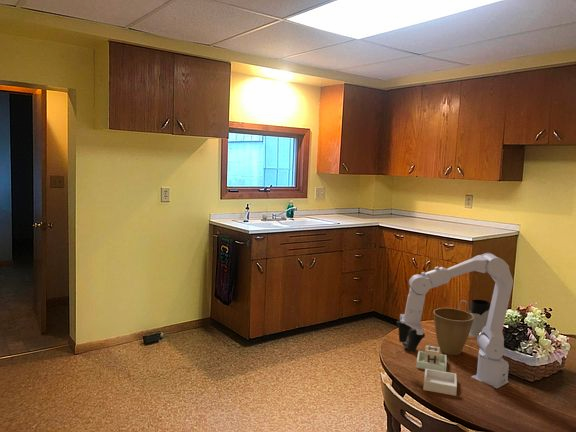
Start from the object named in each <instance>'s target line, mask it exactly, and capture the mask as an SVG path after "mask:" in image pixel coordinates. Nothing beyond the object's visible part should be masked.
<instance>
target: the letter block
mask: <svg viewBox="0 0 576 432" xmlns="http://www.w3.org/2000/svg"><path fill="white" fill-rule="evenodd" d="M424 352H425V360H424V362H428V363H434V364H439V354H441V351H440V347H439V346H432V345H425V349H424Z"/></svg>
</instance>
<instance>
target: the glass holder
mask: <svg viewBox="0 0 576 432" xmlns="http://www.w3.org/2000/svg"><path fill="white" fill-rule="evenodd" d="M462 302H465V303H466V306H467V312H468V313H470V314H472V315H473V317H474V319H473V323H472V326H471V330H470V333H469V336H470V337H472V338H476V339H477V338H478V336H479V333H480V332H482V329H483V328H484V327H485V326H486V323H487V319H488V314H489V310H490V305H491V301H488V300H485V299H472V300H471V307H470V305H469V303H468V302H467V300H463V299H462V300H460V302H459V303H458V310H461V303H462ZM470 308H471V309H470ZM469 336H468V337H469Z"/></svg>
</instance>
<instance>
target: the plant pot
mask: <svg viewBox="0 0 576 432" xmlns="http://www.w3.org/2000/svg"><path fill="white" fill-rule="evenodd" d="M470 313H471V312H469V311H466V310H461V309H460V310H459V308H458V309H456V308H452V307H439V308H436V309H434V310H433V322H434V323H433V324H434V328H435V329H434V330H435V335H436V341H437V344H438V347H440V353H443V354H444V355H448V356H449V355H450V356H459V355H460V354H461V353H462V351H463V349H464V347H465V345H466V343H467V340H468V338H469V333H470V330H471V326H472V323H473V319H474V317H473V315H472V314H470Z"/></svg>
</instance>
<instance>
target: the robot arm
mask: <svg viewBox="0 0 576 432" xmlns="http://www.w3.org/2000/svg"><path fill="white" fill-rule="evenodd" d="M471 272H478V273H482V274H486V273H487V274H488V275H490V277H491V279H492V280H493V281H494V283H495V284H494V287H493V292H492V296H491V301H490V310H489V314H488V319H487V323H486V326H485V327H484V328H483V329H482V332H481V334H480V335H479V336H478V338H476V339H477V340H476V342H477V343H476V344H477V345H478V347H479V350H478V357H477V365H476V374H474V375H471V378H472V379H474V380H475V379H476V380H477V381H479V382H483V383H485V384H486V385H489V386H491V387H492V388H494V389H499V388H501V387H503V386H505V385H507V384H509V380H508V378H509V369H510V368H509V367H510V365H509V362H508V360H505V359H504V358H503V356H504V354H505V351H506V350H505V345H504V344H505V343H504V342H505V337H504V332H503V328H504V327H505V326H504V324H505V320H506V315H507V311H508V307H509V303H510V299H511V294H512V289H513V285H514V280H513V279H514V278H513V276H512V273H511V271H510V265H509V264H508V263H507V262H506V261H505V260H504V259H502V258H501V257H498V256H496V255H495V254H494V253H491V252H485V253H483V254H478V255H475V256H473V257H472V258H469V259H467V260H464V261H462V262H460V263H457V264H455V265H453V266H450V267H448V268H445V267H444V266H440V267H439V266H435V267H434V269H432V270H428V271H426V272H424V271H422V272H421V274H417V273H416V274H414V275H412V276H411V277H410V278H409V280H408V285H409V289H408V295H407V298H406V299H407V300H406V303H405V308H404V309H405V310H404V313H400V314H399V320H396V325H397V328H398V339H399V342H400V343H402V342H406V340H407V336H408V335H409V346H408V352H416V350H417V348H418V346H419V345H420V343H421V341H422V340H423V339H424V338H425V336H426V334H425V333H424V332H425V331H424V327H423V326H422V324H421V321H422V316H423V311H424V310H423V309H424V306H425V300H426V294H427V293H428V292H429V291H430V289H431V290H432V289H434V288H437V287H440V286H443V285H445V284H448V283H450V280H451V279H452V278H455V277H458V276H461V275H464V274H468V273H471ZM411 328H412V329H413V331H410V329H411Z"/></svg>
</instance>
